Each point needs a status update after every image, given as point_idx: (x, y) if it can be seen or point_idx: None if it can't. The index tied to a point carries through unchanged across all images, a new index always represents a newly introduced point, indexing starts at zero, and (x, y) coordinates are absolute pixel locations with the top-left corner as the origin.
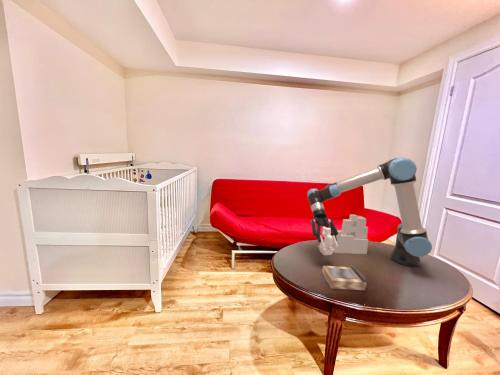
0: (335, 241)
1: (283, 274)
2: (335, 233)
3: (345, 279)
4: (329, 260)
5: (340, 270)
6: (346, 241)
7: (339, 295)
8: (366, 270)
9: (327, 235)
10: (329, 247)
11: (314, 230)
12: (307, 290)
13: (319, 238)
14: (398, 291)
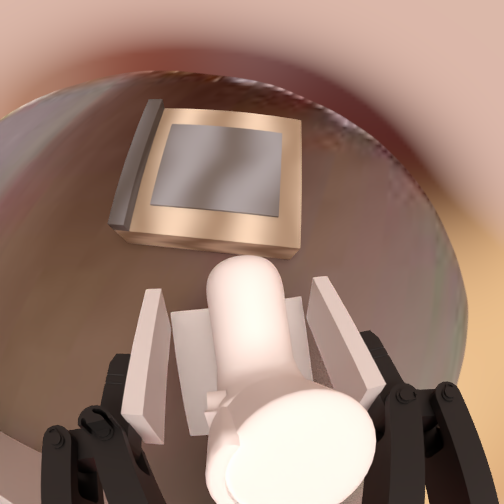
0: (150, 331)
1: (448, 244)
2: (84, 452)
3: (233, 123)
4: (180, 405)
5: (215, 186)
6: (25, 487)
7: (278, 110)
8: (41, 280)
9: (288, 359)
10: (211, 365)
11: (471, 432)
12: (380, 144)
13: (378, 361)
14: (53, 140)
